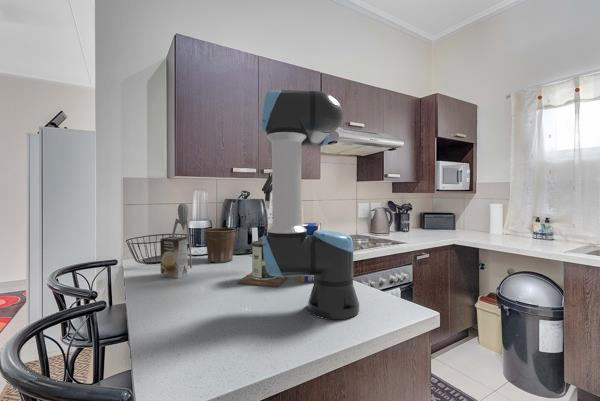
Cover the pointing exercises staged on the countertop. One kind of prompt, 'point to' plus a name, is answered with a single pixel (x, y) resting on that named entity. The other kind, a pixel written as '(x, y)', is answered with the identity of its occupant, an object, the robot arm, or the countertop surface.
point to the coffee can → (259, 262)
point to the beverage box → (310, 230)
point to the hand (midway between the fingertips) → (279, 211)
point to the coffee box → (173, 257)
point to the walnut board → (261, 281)
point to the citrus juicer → (183, 223)
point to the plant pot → (220, 244)
